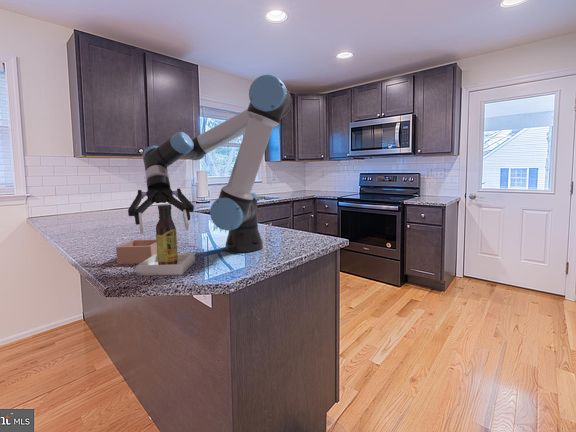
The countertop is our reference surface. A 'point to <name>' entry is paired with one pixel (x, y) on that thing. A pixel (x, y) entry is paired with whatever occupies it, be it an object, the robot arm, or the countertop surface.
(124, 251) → the holder
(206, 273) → the countertop surface
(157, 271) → the tray
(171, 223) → the sauce bottle
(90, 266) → the countertop surface
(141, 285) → the countertop surface
